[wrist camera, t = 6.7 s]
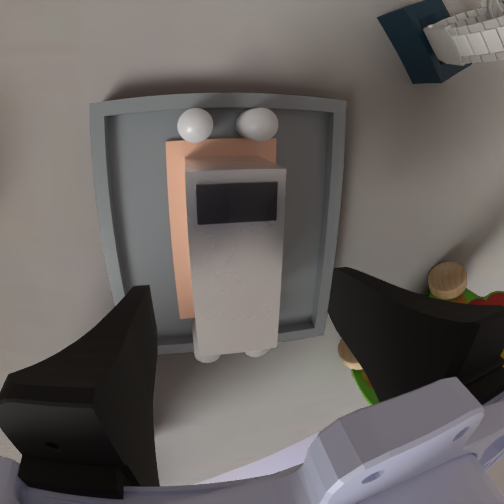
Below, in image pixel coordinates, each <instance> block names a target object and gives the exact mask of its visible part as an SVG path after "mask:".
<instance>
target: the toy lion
mask: <svg viewBox="0 0 504 504" xmlns="http://www.w3.org/2000/svg"><path fill="white" fill-rule="evenodd" d="M428 283H429V288H430V291H431V292H430V294H429V297H431V298H436V299H440V300H445V301H450V302H456V303H464V304H475V305H501V306H504V292H503V291H495V292H492V293H490V294H489V295H487V296H485V297H480V296H478V295H476V294H474V293H473V292H471V291H470V290H468V289H467V288H466V286H467V274H466V271H465V269H464V267H463V266H462V265H460V264H458V263H456V262H443V263H440V264H438V265H436V266H435V267H434V268H433V269H432V270H431V271H430V273H429V276H428ZM338 353H339V356H340V358H341V359H342V361H343V363H344V364H345V365H346V366H347V367H349V368H351V372H352V376H353V378H354V380H355V382H356V383H357V385H358V387H359V389H360V391H361V393H362V394H363V396H364V398H365V399H366V401H367V402H368V404H369V405H370V406H371V405H374V404H377V403H379V400H378V398H377V396H376V394H375V391H374V389H373V387H372V385H371V383H370V381H369V379H368V377H367V375H366V374H365V372H364V370H363V369H362V367H361V365H360V364H359V363H358V361H357V360H356V358H355V357H354V355H353V354H352V352H351V351H350V349H349V348H348V346H347V345H346V344H345V342H344V341H343V339H341V341H340V343H339V346H338ZM501 357H502V358H503V359H504V350H503V352H502V354H501ZM503 367H504V365H503Z"/></svg>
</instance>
